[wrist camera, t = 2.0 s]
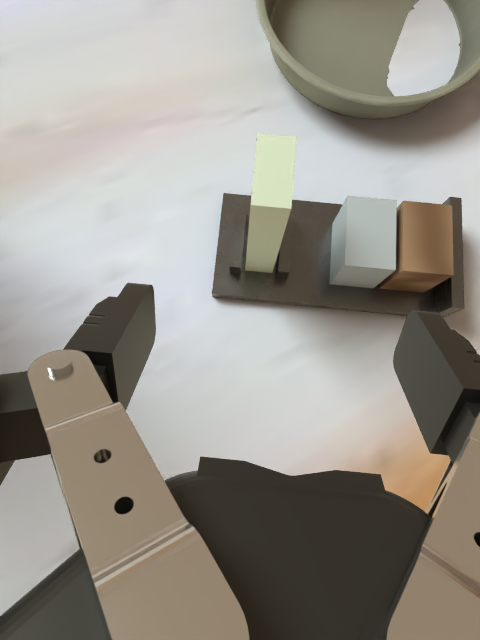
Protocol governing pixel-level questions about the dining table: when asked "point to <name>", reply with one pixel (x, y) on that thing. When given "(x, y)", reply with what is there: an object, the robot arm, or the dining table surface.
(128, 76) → the dining table surface
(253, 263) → the pale green block
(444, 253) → the offcut
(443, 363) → the robot arm
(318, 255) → the rack
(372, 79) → the cake pan
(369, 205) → the offcut
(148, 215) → the dining table surface
